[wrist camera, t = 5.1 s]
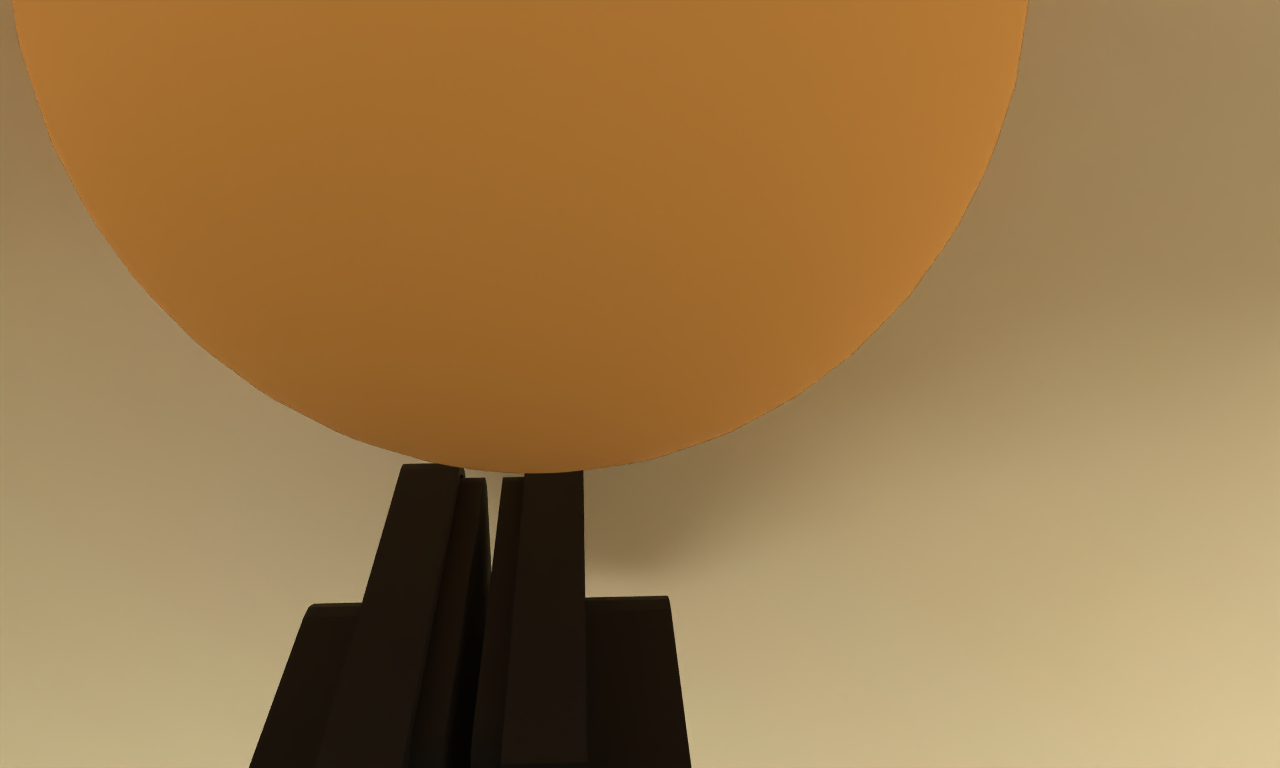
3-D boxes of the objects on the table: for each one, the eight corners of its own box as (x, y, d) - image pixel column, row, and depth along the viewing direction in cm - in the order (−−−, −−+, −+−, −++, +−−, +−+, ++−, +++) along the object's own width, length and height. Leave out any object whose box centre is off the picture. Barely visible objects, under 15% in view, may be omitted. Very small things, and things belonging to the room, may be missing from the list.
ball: (-515, 21, 3) (14, -1133, 5) (42, 516, 8) (185, -126, 10) (1414, 329, 4) (1210, -689, 6) (805, 584, 10) (800, -1, 12)
